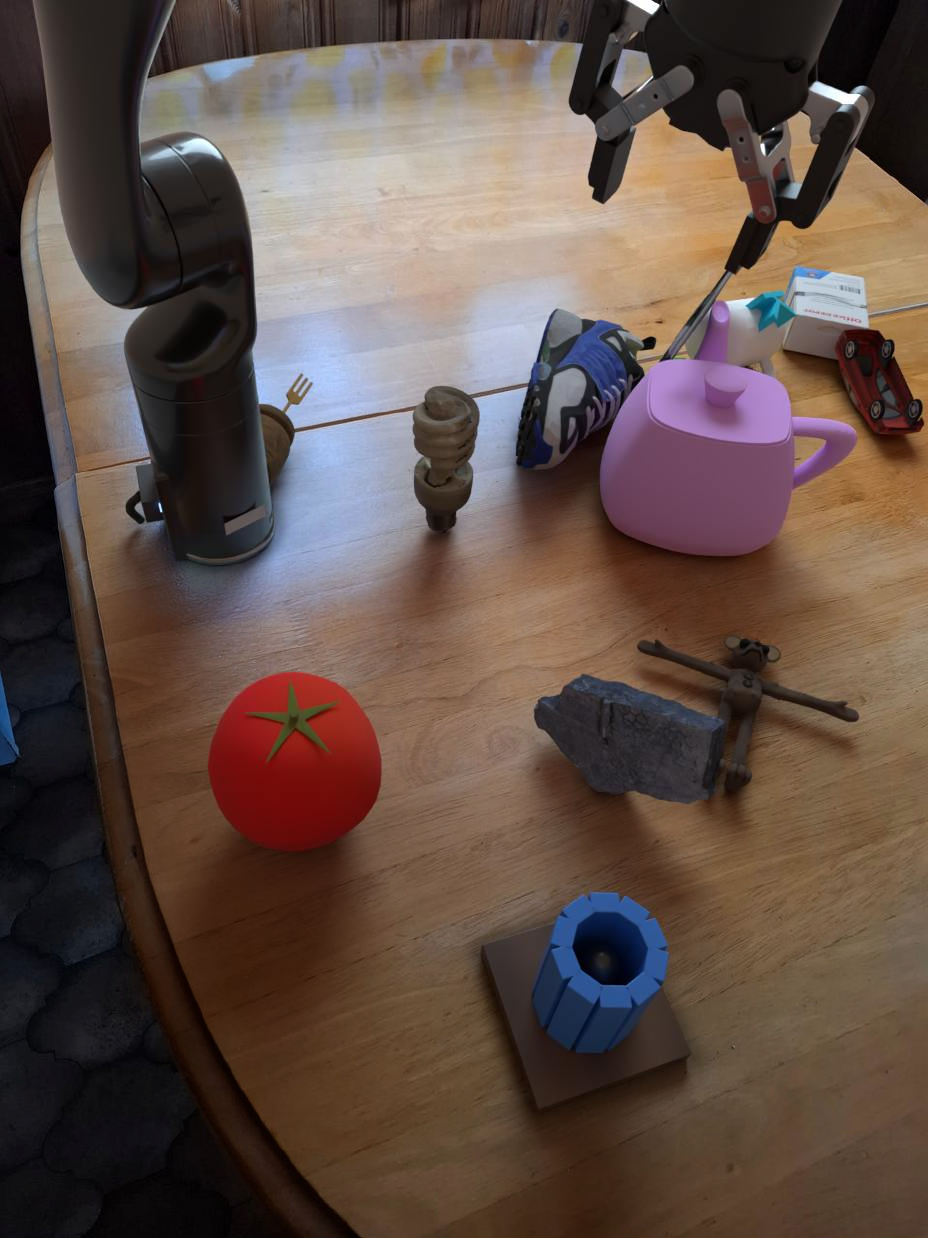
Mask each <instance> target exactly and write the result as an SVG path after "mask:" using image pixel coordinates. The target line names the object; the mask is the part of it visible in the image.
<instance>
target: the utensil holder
mask: <svg viewBox="0 0 928 1238" xmlns="http://www.w3.org/2000/svg"><path fill="white" fill-rule="evenodd" d="M303 376H304V373H299V375H298V377H297V378H296V379H295V381H294V382H293V384H292V385H291V386H290V388H289V389H288V390H287V392H286V393H285V397H286V399H287V403H286V404H285V405H284V408H283V409H280V408H278V407H276V406H274V405H272V404H269V403H259V408H260V416H261V423H262V431H263V439H264V447H265V455H266V463H267V471H268V479H269V486H270V487H271V486H272V485H274V482H275V481H276V479H277V478H278V476H279V474H281V471H282V469H283V468H284V466H285V464H286V462H287V460H288V458H289V456H290V452H291V446H292V445H293V443H294V439H295V435H296V429H295V426H294V423H293V421H292V420H291V418H290V417H289V416H288V415H287V414H286V412H287V411H288V410H289V408H290V407H291V406H292V405H295V406H298V405H300V404H301V403H302V401H303V399H304V398H305V397H306V395H307V394H308V392H309V391H310V390H311V388H312V387H313V385H314V383H313V382H312V381H310V382H309V383H308V385H307V386H306V387H305V385H306V384H307V382H308V380H309V378H308V377H305V378H304V379H303V381H302V382H301V384H300V385H299V386H298V384H299V382H300V381H301V380H302V378H303ZM297 386H298V388H297V389H296V390H295V388H296V387H297ZM304 387H305V389H304V390H303V392H302V393H301V391H302V389H303V388H304ZM294 390H295V391H294ZM300 393H301V395H299V394H300Z"/></svg>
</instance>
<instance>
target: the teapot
mask: <svg viewBox="0 0 928 1238" xmlns="http://www.w3.org/2000/svg"><path fill="white" fill-rule="evenodd" d="M725 302H726V301H724V300H722V299H718V300H717V299H716V301H715V302H714V304H713V305H712V308H711V311H710V316H709V322H708V326H707V329H706V333H705V335H704V338H703V341H702V343H701V345H700V347H699V350H698V352H697V353H696V355H695V357H694V359H693V360H691V359H687V358H686V359H674V360H670V361H669V360H666V361H662V362H659V361H658V362H659V363H658V362H657V363H656V364H654V365H653V366H652V367H651V368H650V369H649V370H648V371H647V372H646V374H645V376H644V377H643V379H642V380H641V381H640V382H639V383H638V385H637V386H636V387H635V388H634V390H633V391H632V392H631V393H630V395H629V396H628V398H627V399H626V400H625V402H624V404H623V405H622V407H621V409H620V410H619V413H618V415H617V416H616V417H615V419H614V421H613V424H612V427H611V429H610V431H609V434H608V437H607V439H606V443H605V445H604V448H603V452H602V456H601V461H600V464H599V465H600V466H599V491H600V499H601V504H602V506H603V509H604V511H605V513H606V516H607V518H608V520H609V521H610V523H611V524H612V526H613V527H615V529H617V530H618V531H619V532H621V533H623V534H624V535H626V536H628V537H631V538H633V539H635V540H637V541H641V542H642V543H643V542H644V543H646V544H649V545H651V546H655V547H659V548H661V549H664V550H669V551H672V552H677V553H681V554H688V555H696V556H708V557H709V556H711V557H736V556H743V555H747V554H750V553H753V552H755V551H757V550H759V549H761V548H763V547H764V546H766V545H768V544H770V543H771V542H772V541H773V540H774V539H776V537H777V536H778V535H779V533H780V531H781V529H783V526H784V523H785V521H786V519H787V514H788V512H789V507H790V502H791V498H792V493H793V491H794V490H795V489H797V488H799V487H801V486H803V485H805V484H807V483H809V482H811V481H812V480H815V479H817V478H818V477H820V476H822V475H824V474H825V473H826V472H829V471H830V470H832V469H833V468H835V467H836V466H838V465H839V464H841V463H842V462H843V461H844V460H845V459H846V458H847V457H848V456H849V455H850V454H851V453H852V452H853V451H854V449H855V447H856V445H857V443H858V434H857V431H856V430H855V429H854V428H853V427H852V426H851V425H850V424H848V423H845V422H843V421H839V420H835V419H829V418H823V417H822V418H821V417H809V416H793V414H792V406H791V401H790V397H789V393H788V391H787V389H786V387H785V385H784V384H783V383H782V382H781V381H779V380H778V379H777V380H776V379H774V378H773V377H770V376H768V375H766V374H763V372H760V371H757V370H754V369H749V368H746V367H739V366H734V365H730V364H726V361H727V341H728V330H729V322H730V311H729V308H728V305H727V304H726V303H725ZM795 437H803V438H812V439H819V440H823V441H825V443H824V444H823V445H822V446H821V447H820V448H818V450H817V451H816V452H814V453H813V455H811V456H810V457H809V458H807V459H806V460H805V461H803V462H802V463H800V464H799V465H797V466H796V465H795V463H796V462H795V458H796V456H795V453H796V451H795ZM795 466H796V467H795Z"/></svg>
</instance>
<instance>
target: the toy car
mask: <svg viewBox="0 0 928 1238" xmlns="http://www.w3.org/2000/svg"><path fill="white" fill-rule="evenodd" d="M895 349H896V344H895V342H894V340H893V339H892V338H889V339H886V338H885V336H884V335H883V334H882V332H880V330H878V329H871V328H870V329H851V330H844V331H843V332H842V333H841V335H840V336H839V339H838V341H837V343H836V346H835V349H834V350H835V352H836V354H837V356H838V360H837V361H838V364H839V370H840V374H841V377H842V380H843V384H844V387H845V389H846V392H847V395H848V396H849V400H850V402H851V404H852V405H853V407H854V409H856V410H857V411H858V412H859V413H860V414H861V415H862V416H863V418H864V419H865V421H866V423H867V424H868V426H869V427H870V428H871V430H872V431H873V432H874V433H875V434H878V435H888V436H889V435H890V436H891V435H893V436H899V435H909V434H910V435H911V434H915V433H920V432H921V431H922V430H923V429H922V428H923V427H924V426H925V420H924V418H923V416H922V415H923V410H924V405H923V401H922V400H921V399H920V398H915V397H914V396H913V394H912V391H911V389H910V387H909V384H908V382H907V381H906V378H905V376H904V374H903V372H902V369H901V368H900V365H899V363H898V360H897V359H896V357H895V355H894V354H895Z"/></svg>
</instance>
